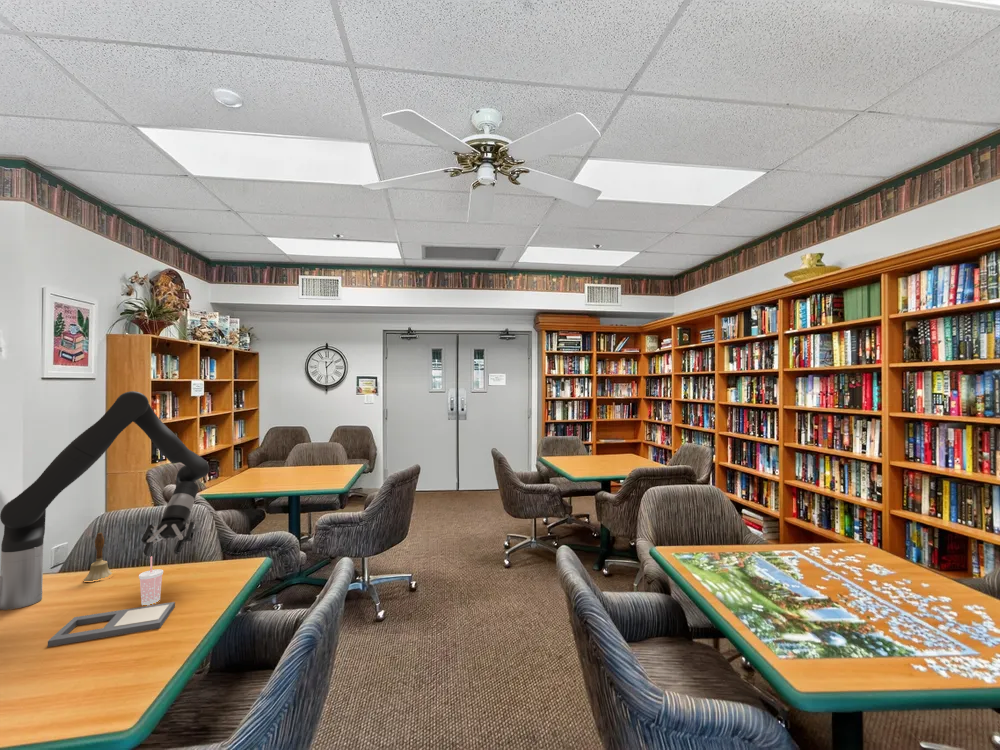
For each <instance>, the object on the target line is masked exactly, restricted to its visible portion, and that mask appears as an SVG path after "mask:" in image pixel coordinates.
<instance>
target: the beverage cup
mask: <svg viewBox="0 0 1000 750" xmlns="http://www.w3.org/2000/svg"><path fill="white" fill-rule="evenodd" d="M149 558H150V560H149V563H150V565H149V567H150V569H149V570H146V571H143V572H141V573H139V575H138V579H139V582H140V583H139V584H140V585H139V587H140V601H141V606H143V605H147V606H151V605H150V604H152V605H154V604H153V603H155V604H157V603H156V602H158V601H159V600H160V601H161V592H162V583H163V582H162V579H163V574H164V570H163V569H153V556H149ZM160 601H159V602H160ZM159 602H158V603H159Z"/></svg>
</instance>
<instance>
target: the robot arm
mask: <svg viewBox="0 0 1000 750" xmlns="http://www.w3.org/2000/svg"><path fill="white" fill-rule="evenodd" d="M132 423H134V424H135V425H136V426H138V428H139V429H141V430H142V431H143V432H144V433H145V435H146V436H147V437H148V438H149V439H150V442H152V443H153V445H154V446H155V447H156V448H157V450H158V451H159V452H160V454H162V455H163V456H164V458H165V459H167V460H168V461H169V462H170V463H171V464H179V463H181V464H183V466H181V467H180V468H179V470H178V471H177V473H176V477H175V489H174V490H173V493H172V495H171V498H170V499H169V501H168V503H167V505H166V508H165V510H164V513H163V515H162V517H161V521H160V523H159V524H158V525H153V524H149V525H148V526H147V528H146V529H145V532H144V534H143V536H142V538H140V539H141V542H142V543H143V545H145V546H144V549H143V551H142V552H143V555H145V557H151V556H150V555H151V553H152V551H153V548H154V545H155V544H156V543H157V542H160V541H162V540H163V539H169V538H171V539H175V538H176V537H177V538H178V540H177V542H176V545H175V547H174V550H173V551H174V554H175V555H178V554H179V553H181V552H182V551H183V548H184V545H185V543H186V542H191V541H193V539H194V534H195V532H196V527H197V526H196V524H195V523H194V521H190V523H188V522H189V521H188V520H189V519H190V516H191V513H192V510H193V507H194V504H195V503H194V502H195V500H196V496H197V494H198V491H199V486H198V484H197V483H196V481H198V480H200V479H202V478H204V477H206V476H208V475H209V472H210V465H209V462H207V460H205V459H204V458H203V457H202V456H200V455H199V454H197V453H195V452H194V451H192V450H190V449H189V448H188V447H187V446H186V444H184V442H183V441H182V440H181V439H180V438H179V437H178V436H177V435H176V434H175V433H174V432H173V431H172V430H171V429H170V428H168V426H167V425H166V424H165V423H164V422H163V421H162V420H161V419H160V418H159V416H157V414H156V413H155V411H154V410H153V408H152V406H151V405H150V401H149V399H148V397H147V396H146V395H145V394H144V393H142V392H138V391H133V390H131V391H126V392H124V393H121V394H120V395H119V396H118V397H117V398H116V400H115V401H114V402H113V404H112V405H111V406H110V408H109V409H107V411H105V413H104V414H103V416H101V417H100V418H99V419H98V420H97V421H96V422H95V423H93V424H92V425H91V426H90V427H88V428H87V429H85V430H84V431H83V432H82V433H81V434H79V435H78V436H77V437H75V439H73V440H72V441H71V442H70V443H69V444H68V445H67V446H66V447H65V448H64V449H63V450H62V451H60V453H58V455H57V456H55V458H54V459H53V460H52V461H51V462H50V463H49V464H48V466H47V467H46V468H45V469H44V471H43V472H42V473H41V474H40V475H39V477H38V478H36V480H35V481H34V482H32V483H31V484H30V485H29V486H28V487H27V488H25V489H24V490H23V491H22V492H21V493H19V494H17V496H16V497H15V498H13V499H11V500H10V501H8V502H7V503H6V504H4V506H3V507H2V509H1V510H0V522H1V524H3V526H4V529H3V536H2V541H1V548H0V549H1V554H0V555H1V556H0V557H1V558H0V610H2V611H3V610H4V611H8V609H10V610H15V608H16V609H21V608H25V607H28V606H31V605H35V604H37V603H39V602H41V600H43V572H44V569H43V568H44V539H45V532H46V516H47V515H46V514H47V513H46V511H47V508H48V507H49V506H50V504H52V502H53V501H54V500H55V499H56V498H57V497H58V495H60V494H61V493H62V492H63V491H64V490H65V489H67V488H68V487H69V486H70V485H72V484H73V483H74V482H75V481H76V480H77V479H79V478H80V477H81V476H82V475H83V474H85V473H86V472H87V471H88V470H89V469H90V468H91V467H92V466H93V465H94V464H95V463H96V462H97V461H99V459H100V458H101V457H103V455H104V454H105V453H106V452H107V450H108V449H109V448H110V446H112V444H113V442H114V441H115V440H116V438H117V437H118V436H119V435H120V434H121V433H122V432H123V431H124V430H125V429H126V428H128V427H129V426H130V425H131V424H132ZM186 529H187V531H186V535H185V536H184V535H183V534H182V532H184V531H185V530H186Z"/></svg>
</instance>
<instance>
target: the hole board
mask: <svg viewBox="0 0 1000 750" xmlns="http://www.w3.org/2000/svg"><path fill="white" fill-rule="evenodd" d="M175 607H176V602H175V601H171V602H165V603H156V604H152V605H147V606H140V607H139V606H138V607H132V608H125V609H121V610H120V609H119V610H118V609H117V610H113V611H107V612H100V613H94V614H93V613H92V614H86V615H81V616H74V617H73V618H72V619H70V620H69V621H68V622H67V623H66V624H65V625H64V626H63V627H62V628H60V630H58V631H57V632H56V633H55V634H53V636H52V637H50V638H49V639H48V640H47V648H50V647H56V646H61V645H69V644H74V643H79V642H87V641H92V640H96V639H97V640H98V639H104V638H109V637H115V636H121V635H126V634H128V635H129V634H132V633H139V632H144V631H145V632H146V631H150V630H157V629H161V628H162V626H164V625H163V624H164V623H165V622H166V620H167V619H168V618H169V616H170V615H171V614H172V612H173V610H174V608H175ZM101 622H107V623H106V625H105V626H104V627H102V628H96V629H91V630H90V629H89V630H83V631H78V632H77V631H76V632H72V633H71V631H73V630H74V629H75V628H76V627H77V626H81V625H88V624H94V623H101Z"/></svg>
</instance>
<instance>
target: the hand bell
mask: <svg viewBox="0 0 1000 750" xmlns="http://www.w3.org/2000/svg"><path fill="white" fill-rule="evenodd" d="M94 547H95V549H96V557H95V558H96V559H95V560H96V561H94V562H93V563H91V565H90V568H89V571H88V573H87V576H86V577H84V578H83V580H84V581H93V580H98V579H101V578H105V577H108V576H109V575H111V574H112V573H113V572H112V571H111V570H110V569H109V565H108V561H107V560H103V549H104V547H105V538H104V534H103V532H97V534H96V537H95V540H94Z"/></svg>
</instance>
